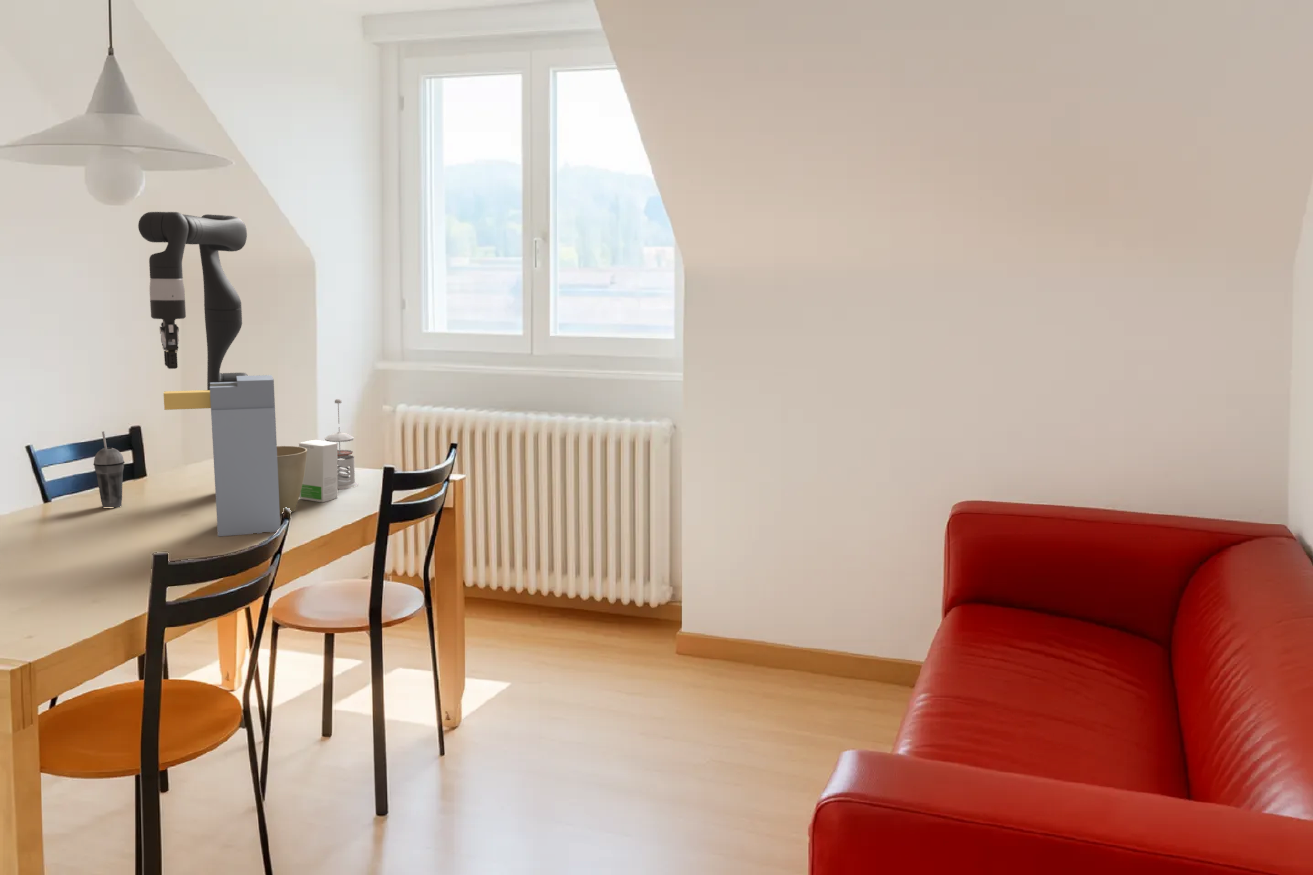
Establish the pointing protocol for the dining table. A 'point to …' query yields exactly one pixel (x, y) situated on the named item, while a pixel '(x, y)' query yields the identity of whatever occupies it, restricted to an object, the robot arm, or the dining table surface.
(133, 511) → the dining table surface
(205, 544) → the dining table surface
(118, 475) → the beverage cup
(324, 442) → the skincare box
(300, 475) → the plant pot
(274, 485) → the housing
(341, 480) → the french press
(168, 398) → the bar
